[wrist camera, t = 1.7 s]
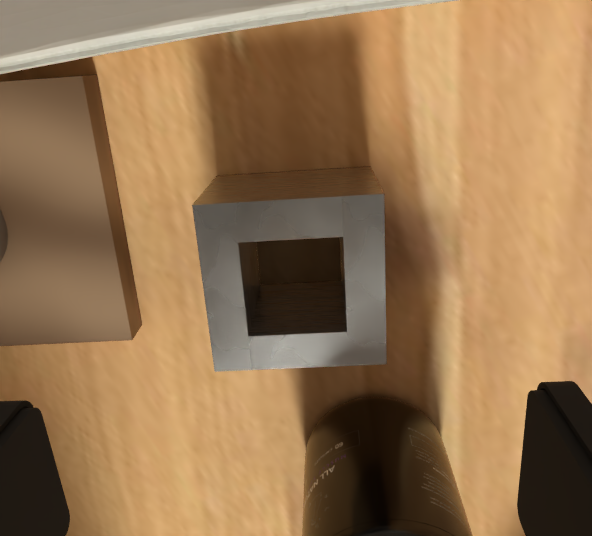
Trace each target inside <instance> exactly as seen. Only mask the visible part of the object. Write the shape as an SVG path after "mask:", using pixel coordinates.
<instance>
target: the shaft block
mask: <svg viewBox="0 0 592 536" xmlns="http://www.w3.org/2000/svg"><path fill="white" fill-rule="evenodd" d="M141 326H142V322H141V317H140V311H139V306H138V300H137V294H136V289H135V283H134V278H133V272H132V267H131V261H130V256H129V250H128V245H127V239H126V234H125V228H124V222H123V217H122V211H121V206H120V200H119V195H118V189H117V184H116V178H115V173H114V167H113V161H112V156H111V150H110V145H109V139H108V134H107V128H106V123H105V117H104V112H103V106H102V101H101V95H100V89H99V84H98V78H97V75H87V76H73V77H59V78H45V79H32V80H18V81H4V82H0V346H12V345H34V344H56V343H78V342H100V341H122V340H132V339H133V338H134V336H135V335H136V333H137V332H138V330H139V329H140V327H141Z"/></svg>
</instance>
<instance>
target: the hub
mask: <svg viewBox="0 0 592 536" xmlns="http://www.w3.org/2000/svg"><path fill="white" fill-rule="evenodd" d="M192 207H193V214H194V222H195V229H196V236H197V244H198V251H199V259H200V266H201V273H202V281H203V288H204V296H205V303H206V310H207V318H208V325H209V333H210V340H211V347H212V355H213V362H214V370H215V371H239V370H263V369H286V368H310V367H334V366H358V365H382V364H387V359H386V287H385V214H384V192H383V190H382V188H381V186H380V184H379V182H378V180H377V178H376V176H375V174H374V172H373V170H372V168H371V166H369V167H353V168H337V169H321V170H304V171H288V172H272V173H255V174H239V175H223V176H216V178H215V179H214V180H213V181H212V182H211V183H210V185H209V186H208V187H207V188H206V189H205V191H204V192H203V193H202V194H201V195H200V197H199V198H198V199H197V200H196V201H195V202H194V204H193V205H192ZM331 237H340V261H341V281H325V282H305V283H285V284H266V285H261V281H260V271H259V260H258V250H257V242H258V241H276V240H294V239H312V238H331Z"/></svg>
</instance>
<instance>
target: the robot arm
mask: <svg viewBox="0 0 592 536" xmlns="http://www.w3.org/2000/svg"><path fill="white" fill-rule="evenodd" d="M517 507H518V515H519V519H520V523H521V525H522V528H523V530H524V533H525V535H526V536H592V404H591V403H590V401H589V400H588V399H587V397H586V396H585V395H584V393H583V392H582V391H581V389H580V388H579V387H578V385H577V384H576V383H575V382H572V381H564V382H541V383H540V384H539V386H538V388H537V390H534V391H530V392H529V394H528V398H527V408H526V419H525V429H524V439H523V450H522V460H521V470H520V481H519V491H518V503H517ZM69 522H70V515H69V510H68V506H67V503H66V499H65V495H64V492H63V488H62V485H61V481H60V478H59V474H58V470H57V467H56V463H55V460H54V456H53V452H52V449H51V445H50V442H49V438H48V435H47V431H46V427H45V424H44V420H43V417H42V414H41V411H40V410H39V409H38V408H33V405H32V404H31V403H30V402H29V401H0V536H65V535H66V533H67V531H68V527H69Z"/></svg>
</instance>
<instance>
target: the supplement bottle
mask: <svg viewBox="0 0 592 536" xmlns="http://www.w3.org/2000/svg"><path fill="white" fill-rule="evenodd" d="M302 536H472V532H471V529H470V526H469V523H468V520H467V516H466V513H465V510H464V507H463V504H462V500H461V497H460V494H459V491H458V488H457V484H456V481H455V478H454V475H453V472H452V468H451V465H450V462H449V459H448V456H447V453H446V450H445V447H444V444H443V441H442V438H441V436H440V434H439V432H438V430H437V428H436V427H435V425H434V424H433V423H432V421H431V420H430V419H429V418H428V417H427V416H426V415H425V414H424V413H422V412H421V411H420V410H418V409H417V408H415V407H413V406H412V405H410V404H408V403H405V402H403V401H400V400H396V399H392V398H386V397H364V398H359V399H354V400H351V401H348V402H346V403H343V404H341V405H339V406H337V407H335V408H334V409H332V410H331V411H330V412H328V413H327V414H326V415H325V416H324V417H323V418H321V420H320V421H319V422H318V423H317V424H316V426H315V427H314V429H313V431H312V433H311V435H310V437H309V440H308V443H307V448H306V456H305V475H304V502H303V529H302Z"/></svg>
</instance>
